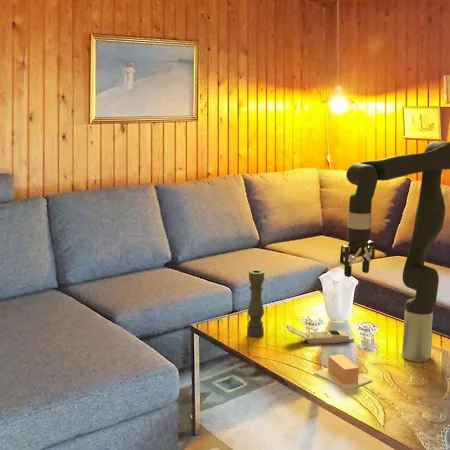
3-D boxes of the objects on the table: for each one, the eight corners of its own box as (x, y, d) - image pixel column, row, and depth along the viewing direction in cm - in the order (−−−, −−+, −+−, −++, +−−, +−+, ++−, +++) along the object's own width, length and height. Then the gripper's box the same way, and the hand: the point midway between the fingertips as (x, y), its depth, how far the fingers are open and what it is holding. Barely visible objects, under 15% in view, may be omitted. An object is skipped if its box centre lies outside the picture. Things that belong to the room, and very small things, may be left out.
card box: (358, 382, 199) (358, 367, 198) (343, 384, 197) (344, 369, 196) (341, 368, 209) (342, 354, 208) (328, 370, 207) (328, 355, 206)
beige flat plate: (337, 365, 212) (337, 364, 212) (371, 381, 201) (372, 379, 201) (313, 373, 206) (313, 372, 206) (348, 390, 194) (348, 389, 194)
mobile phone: (285, 324, 234) (350, 322, 237) (285, 339, 235) (349, 336, 239) (289, 330, 228) (355, 327, 231) (288, 346, 230) (354, 342, 233)
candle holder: (245, 333, 241) (246, 270, 236) (260, 331, 243) (261, 269, 238) (250, 339, 235) (251, 274, 230) (265, 337, 237) (267, 273, 232)
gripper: (353, 230, 195) (350, 280, 198) (382, 225, 204) (379, 273, 207) (335, 226, 201) (333, 275, 204) (364, 221, 209) (362, 268, 213)
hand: (356, 274), depth 205 cm, fingers open, 8 cm apart
